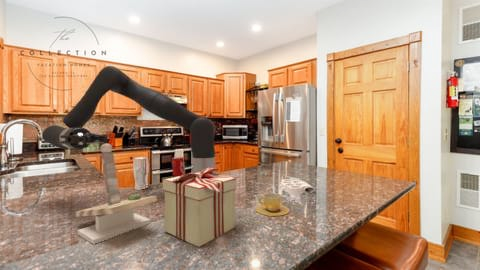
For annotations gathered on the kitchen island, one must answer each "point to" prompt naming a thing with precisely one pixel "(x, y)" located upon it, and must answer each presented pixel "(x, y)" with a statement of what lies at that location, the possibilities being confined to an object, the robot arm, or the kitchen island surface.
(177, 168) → the beverage can
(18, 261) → the kitchen island surface
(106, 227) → the deck stand
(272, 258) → the kitchen island surface
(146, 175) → the beer glass
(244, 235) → the kitchen island surface
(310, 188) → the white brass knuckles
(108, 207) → the platform
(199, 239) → the gift box
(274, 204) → the cup
